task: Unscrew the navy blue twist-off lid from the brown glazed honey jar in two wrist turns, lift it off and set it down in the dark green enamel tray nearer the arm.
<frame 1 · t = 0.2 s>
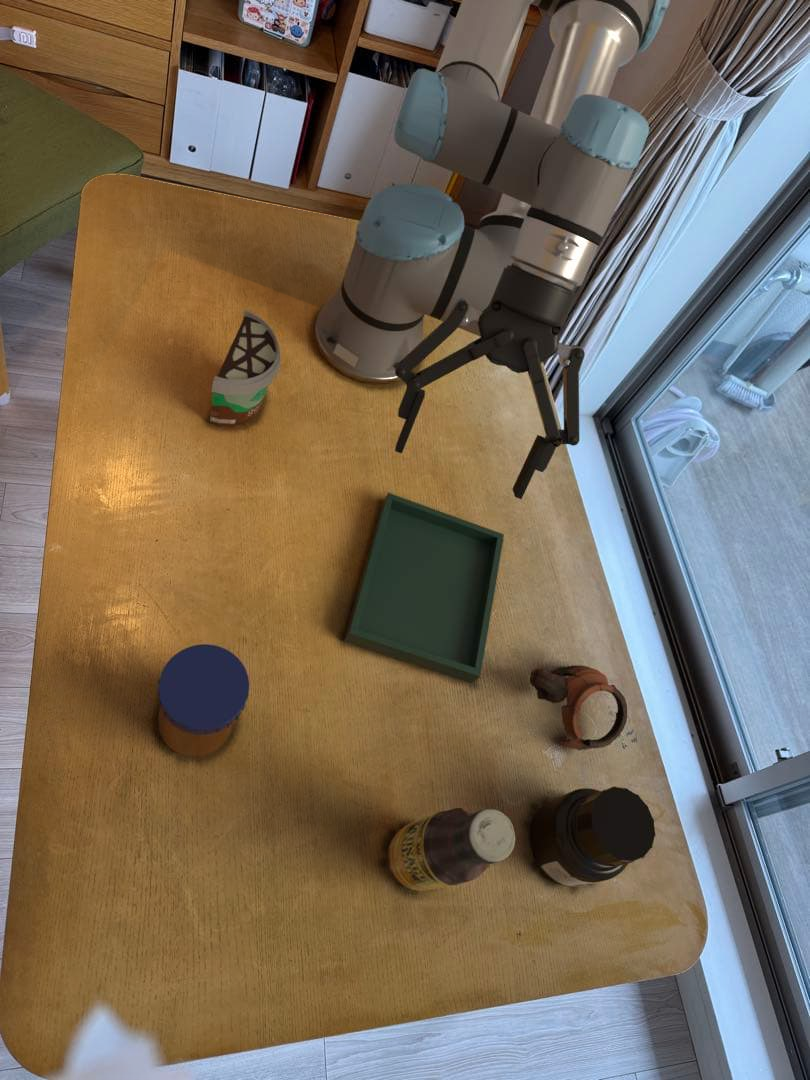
hand: (458, 472, 82), 16 cm above the table, tool tilted 35°, fingers open, 13 cm apart
ink bottle: (563, 842, 83), on the table
jar: (196, 720, 77), on the table
lid: (204, 686, 69), point 11 cm above the table, screwed on, not yet turned
tray: (425, 589, 93), on the table
sauce bottle: (413, 860, 77), on the table
pottery mug: (560, 706, 91), on the table
food container: (245, 405, 98), on the table
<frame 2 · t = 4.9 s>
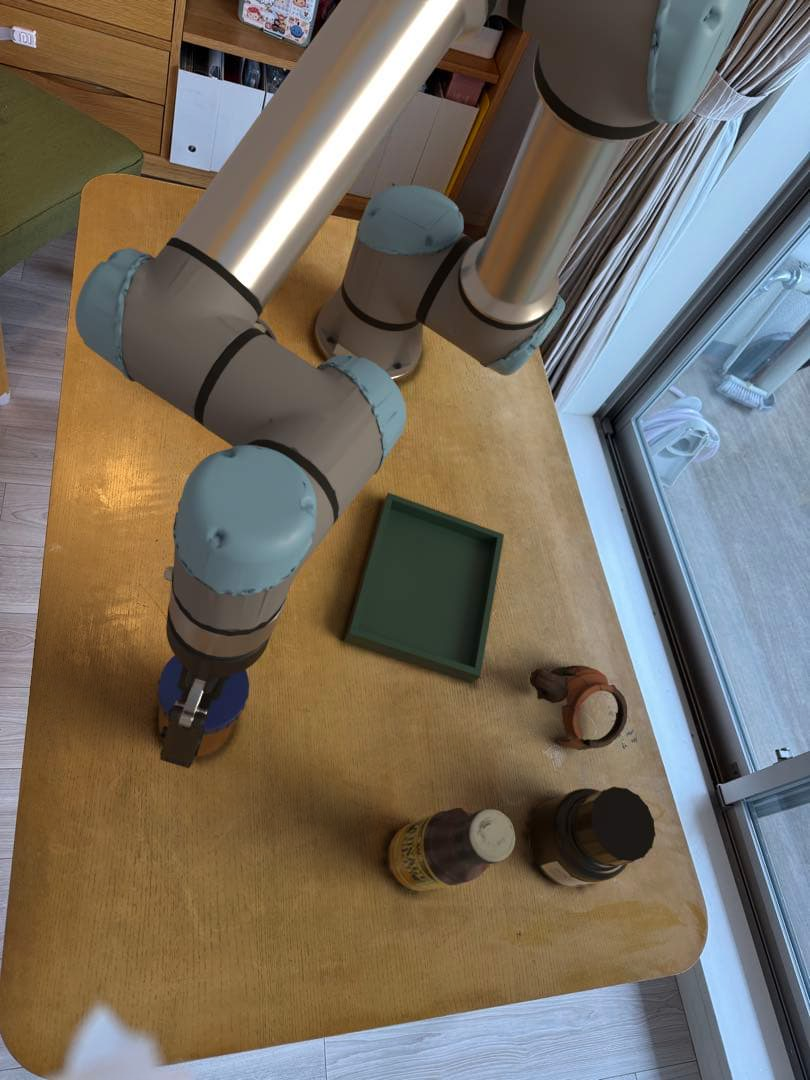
hand: (199, 705, 73), 5 cm above the table, tool pointing down, fingers closed on lid, 8 cm apart
lid: (204, 687, 69), point 11 cm above the table, screwed on, not yet turned, touching gripper
everything else where it was.
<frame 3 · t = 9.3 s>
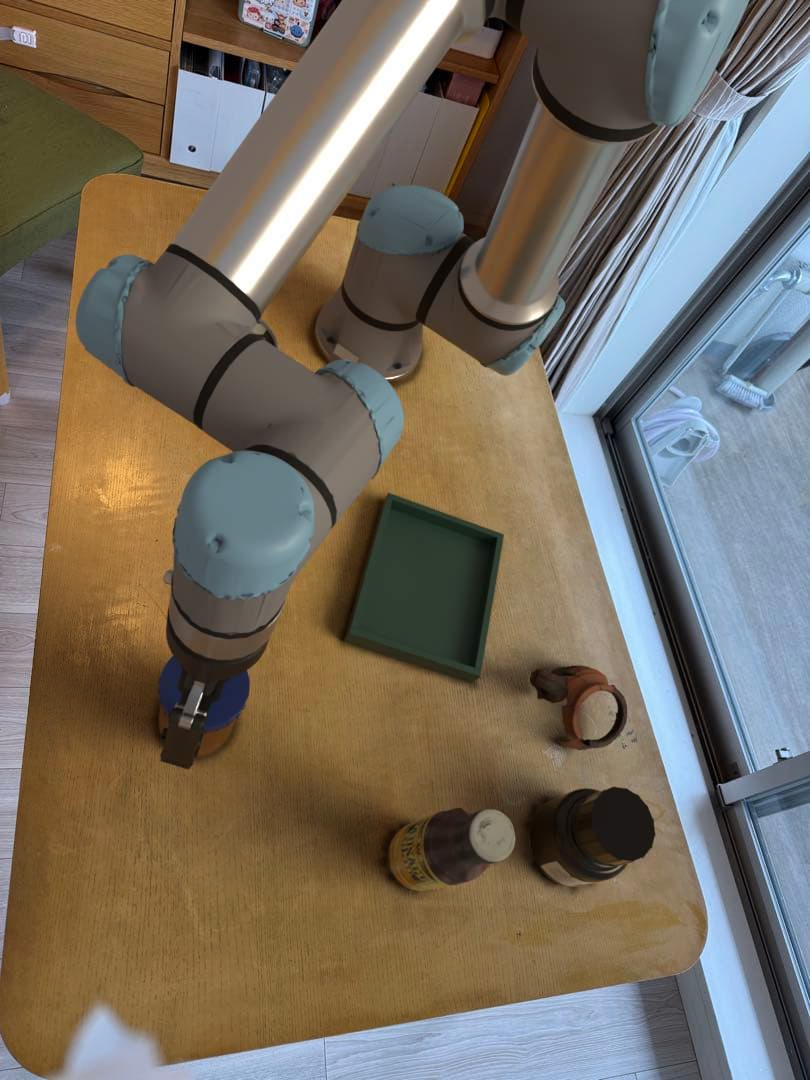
hand: (199, 707, 74), 5 cm above the table, tool pointing down, fingers closed on lid, 8 cm apart
lid: (204, 685, 68), point 11 cm above the table, turned 90° so far, risen 0.2 cm, still on its thread, touching gripper
everything else where it was.
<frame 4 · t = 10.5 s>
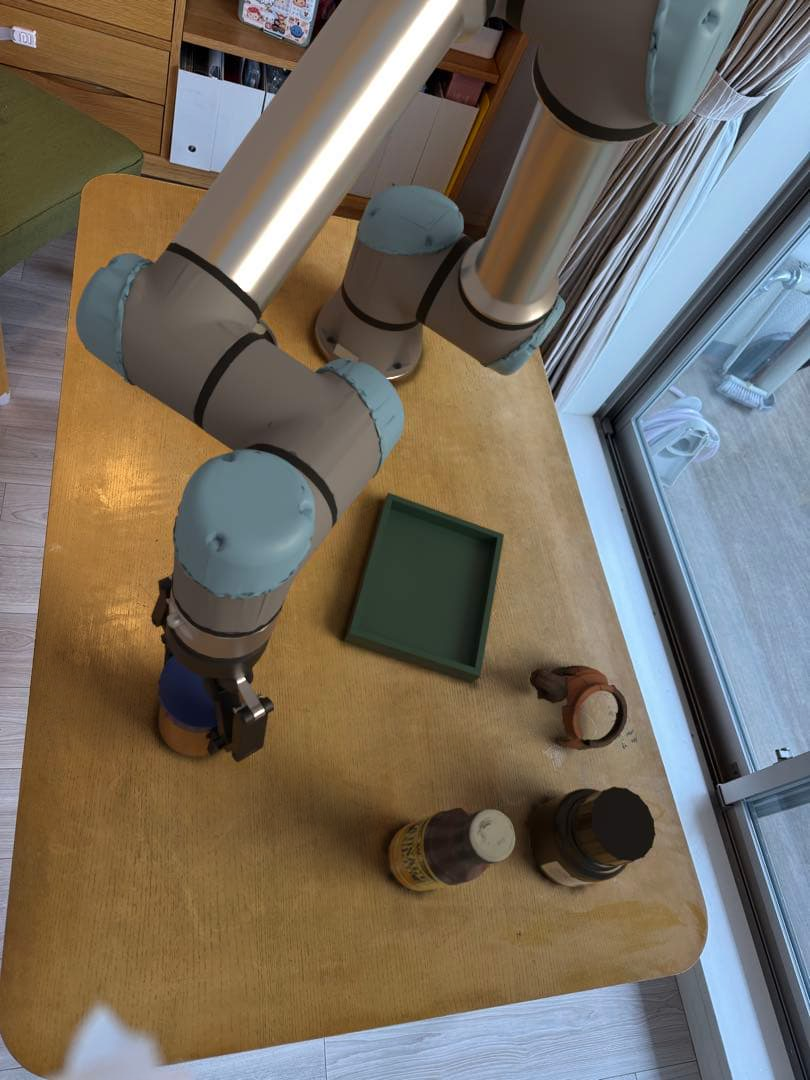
hand: (199, 706, 74), 5 cm above the table, tool pointing down, fingers closed on lid, 8 cm apart
lid: (204, 685, 68), point 11 cm above the table, turned 138° so far, risen 0.4 cm, still on its thread, touching gripper
everything else where it was.
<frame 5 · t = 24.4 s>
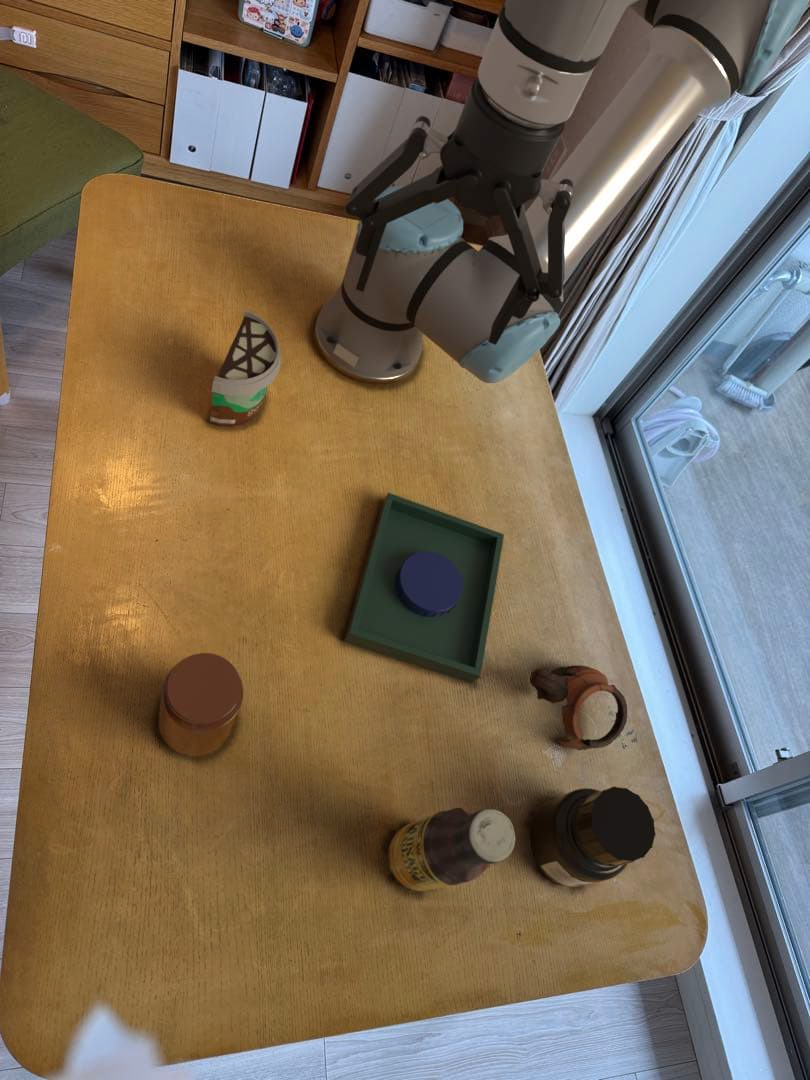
hand: (429, 308, 74), 29 cm above the table, tool pointing down, fingers open, 13 cm apart
lid: (430, 582, 91), point 2 cm above the table, off its thread, touching tray
everything else where it was.
at the end: lid came off its thread; lid inside the target area in the tray (0.0 cm from its centre), point 2.1 cm above the tray's base; the gripper is holding nothing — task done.
